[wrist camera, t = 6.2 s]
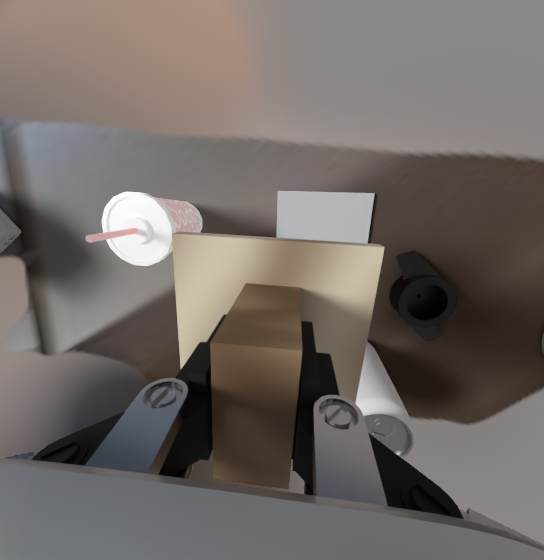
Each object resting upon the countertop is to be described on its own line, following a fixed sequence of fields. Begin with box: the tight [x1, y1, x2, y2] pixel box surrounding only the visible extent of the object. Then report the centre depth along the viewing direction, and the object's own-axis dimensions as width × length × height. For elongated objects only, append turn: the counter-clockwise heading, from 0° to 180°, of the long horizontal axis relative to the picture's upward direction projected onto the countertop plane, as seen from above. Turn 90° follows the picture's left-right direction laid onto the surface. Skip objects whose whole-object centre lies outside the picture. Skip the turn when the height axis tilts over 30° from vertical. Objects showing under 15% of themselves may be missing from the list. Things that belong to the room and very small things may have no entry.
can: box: [355, 342, 413, 459], centre depth 27 cm, size 6×6×12 cm
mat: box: [276, 191, 375, 244], centre depth 28 cm, size 10×10×1 cm
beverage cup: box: [86, 192, 202, 266], centre depth 23 cm, size 6×6×14 cm
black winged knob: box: [390, 251, 457, 341], centre depth 28 cm, size 8×10×3 cm
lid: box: [172, 231, 385, 489], centre depth 10 cm, size 9×9×6 cm
